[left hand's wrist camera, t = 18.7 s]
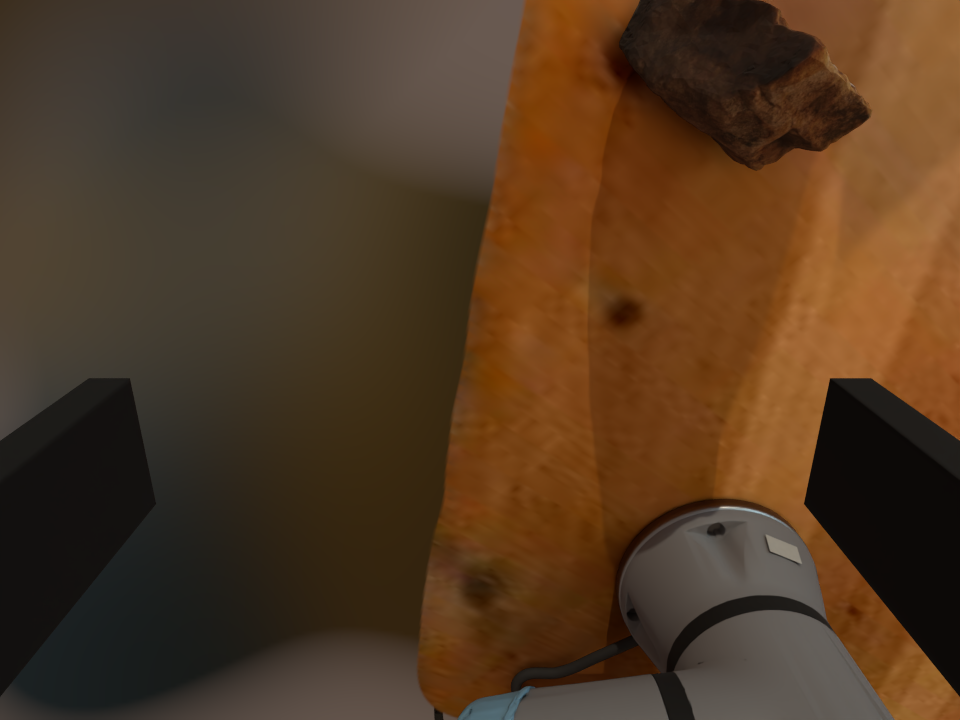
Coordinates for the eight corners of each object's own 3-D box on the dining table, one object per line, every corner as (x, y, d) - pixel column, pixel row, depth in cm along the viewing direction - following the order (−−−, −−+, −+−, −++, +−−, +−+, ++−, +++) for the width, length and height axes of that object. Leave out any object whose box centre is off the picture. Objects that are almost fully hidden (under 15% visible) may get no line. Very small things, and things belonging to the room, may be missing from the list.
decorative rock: (806, 103, 40) (915, 103, 30) (734, 183, 42) (815, 208, 32) (664, -36, 38) (731, -87, 28) (593, 56, 39) (632, 40, 29)
